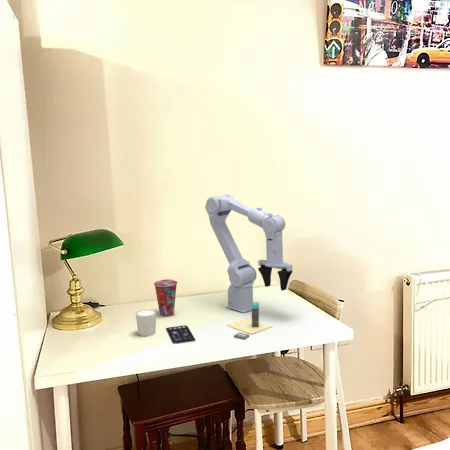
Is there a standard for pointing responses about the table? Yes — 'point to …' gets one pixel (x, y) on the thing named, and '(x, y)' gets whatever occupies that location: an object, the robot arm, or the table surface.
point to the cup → (166, 296)
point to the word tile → (241, 336)
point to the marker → (255, 314)
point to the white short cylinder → (146, 322)
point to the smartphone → (180, 334)
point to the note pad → (248, 326)
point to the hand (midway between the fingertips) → (275, 287)
